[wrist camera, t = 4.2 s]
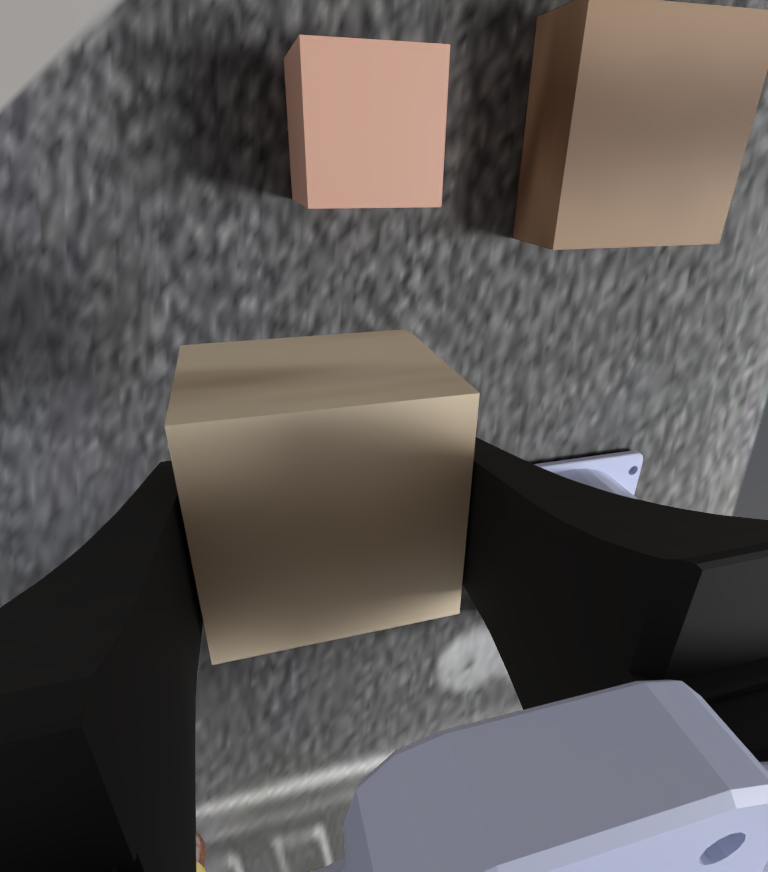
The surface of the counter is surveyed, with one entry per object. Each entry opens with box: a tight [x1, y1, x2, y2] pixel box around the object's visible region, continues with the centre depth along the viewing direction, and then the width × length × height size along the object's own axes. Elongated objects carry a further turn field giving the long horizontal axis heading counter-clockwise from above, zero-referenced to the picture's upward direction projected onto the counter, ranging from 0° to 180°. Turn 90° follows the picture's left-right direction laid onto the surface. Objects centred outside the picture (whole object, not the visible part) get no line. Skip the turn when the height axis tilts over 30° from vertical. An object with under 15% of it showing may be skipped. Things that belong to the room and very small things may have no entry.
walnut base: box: [513, 0, 768, 250], centre depth 19 cm, size 7×7×3 cm
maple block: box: [165, 329, 480, 665], centre depth 11 cm, size 5×5×4 cm
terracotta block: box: [284, 35, 450, 209], centre depth 17 cm, size 4×4×4 cm
